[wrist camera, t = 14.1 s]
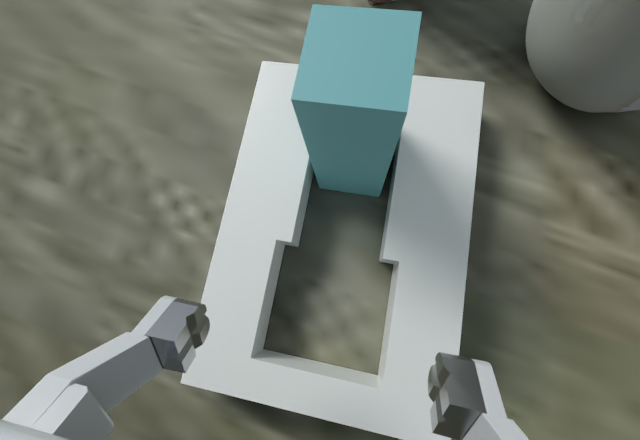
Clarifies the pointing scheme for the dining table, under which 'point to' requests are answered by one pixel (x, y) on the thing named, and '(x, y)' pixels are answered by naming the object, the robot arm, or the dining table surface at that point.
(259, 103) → the keyhole plate
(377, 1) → the flask
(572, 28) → the white bottle
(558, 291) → the dining table surface
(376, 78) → the key block
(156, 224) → the dining table surface
